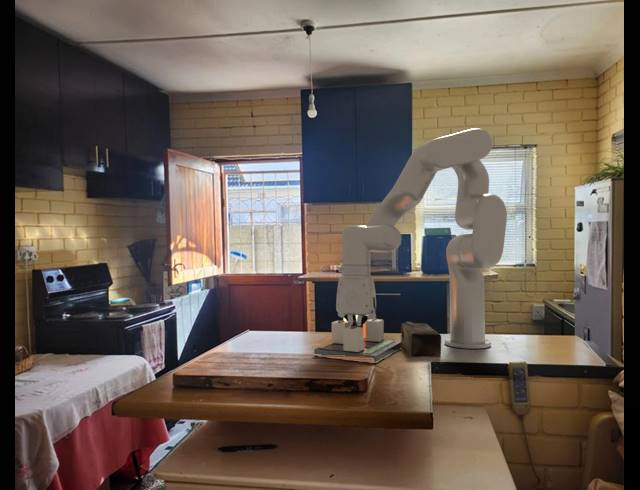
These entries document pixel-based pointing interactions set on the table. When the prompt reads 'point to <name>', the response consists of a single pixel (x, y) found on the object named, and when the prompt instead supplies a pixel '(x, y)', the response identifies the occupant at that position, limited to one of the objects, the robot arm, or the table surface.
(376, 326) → the breaker
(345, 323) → the breaker mid
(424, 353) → the beverage carton
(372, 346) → the panel
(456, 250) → the robot arm
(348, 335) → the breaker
